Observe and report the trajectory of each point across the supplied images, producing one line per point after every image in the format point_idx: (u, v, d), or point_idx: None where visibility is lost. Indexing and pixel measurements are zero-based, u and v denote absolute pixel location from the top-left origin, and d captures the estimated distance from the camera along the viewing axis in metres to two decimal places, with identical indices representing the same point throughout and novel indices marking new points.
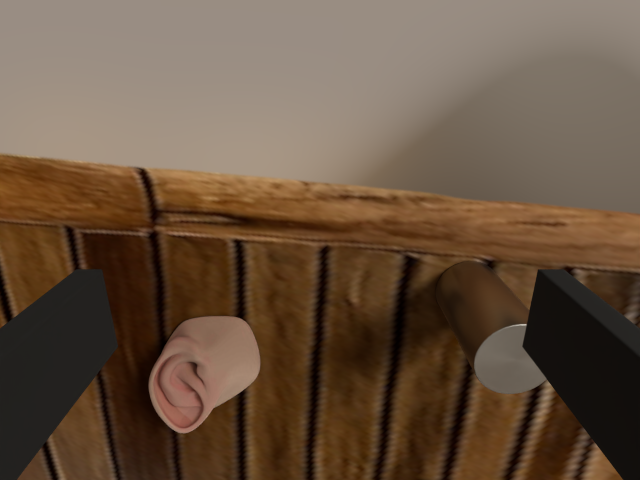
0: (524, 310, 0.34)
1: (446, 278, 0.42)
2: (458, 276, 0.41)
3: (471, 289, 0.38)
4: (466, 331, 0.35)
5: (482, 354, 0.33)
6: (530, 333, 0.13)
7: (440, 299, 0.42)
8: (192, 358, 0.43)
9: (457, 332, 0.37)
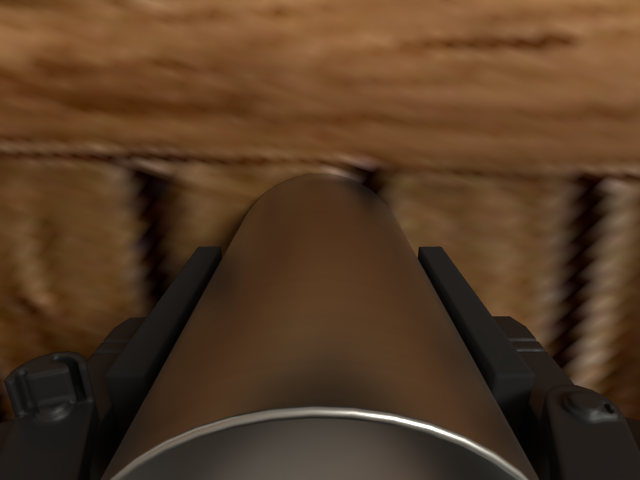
0: (388, 303, 0.07)
1: (241, 224, 0.15)
2: (255, 211, 0.14)
3: (246, 240, 0.11)
4: None
5: None
6: None
7: None
8: None
9: None
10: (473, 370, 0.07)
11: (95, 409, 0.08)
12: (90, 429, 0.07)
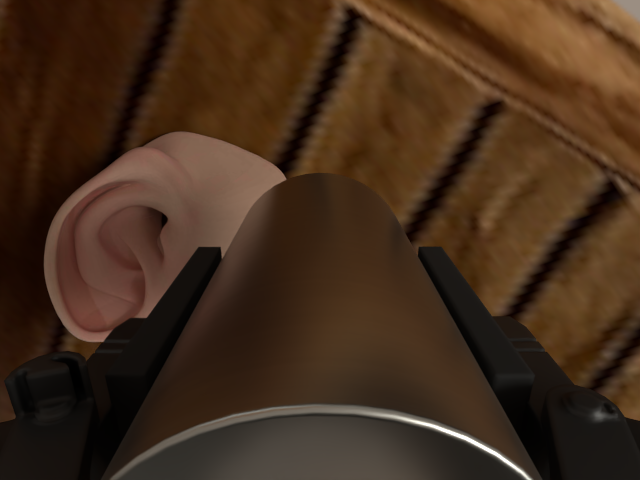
0: (389, 302, 0.07)
1: None
2: (256, 210, 0.14)
3: (247, 239, 0.11)
4: None
5: None
6: None
7: None
8: (166, 202, 0.21)
9: None
10: (475, 368, 0.07)
11: (95, 409, 0.08)
12: (90, 429, 0.07)
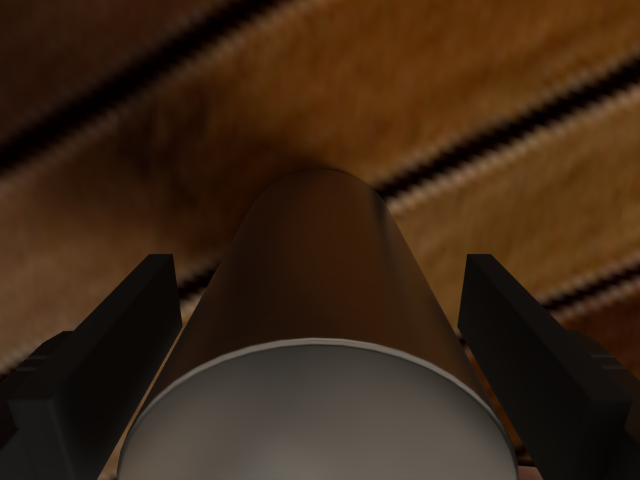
0: (375, 271, 0.08)
1: (247, 214, 0.16)
2: (260, 202, 0.15)
3: (253, 226, 0.12)
4: None
5: None
6: (462, 313, 0.14)
7: None
8: None
9: None
10: (445, 326, 0.08)
11: None
12: None
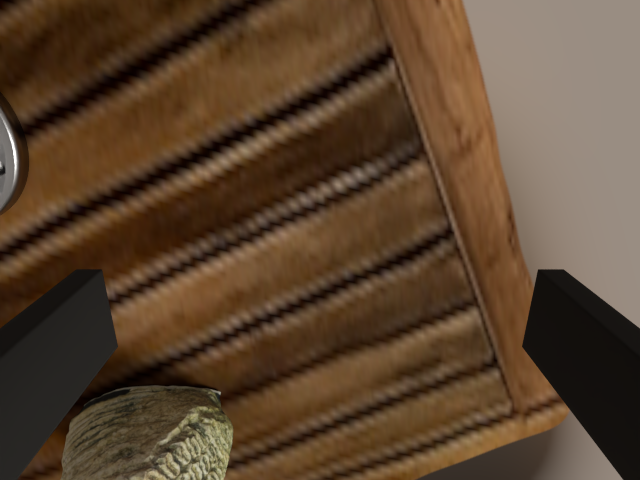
0: None
1: None
2: None
3: None
4: None
5: None
6: (529, 333, 0.13)
7: None
8: None
9: None
10: None
11: None
12: None
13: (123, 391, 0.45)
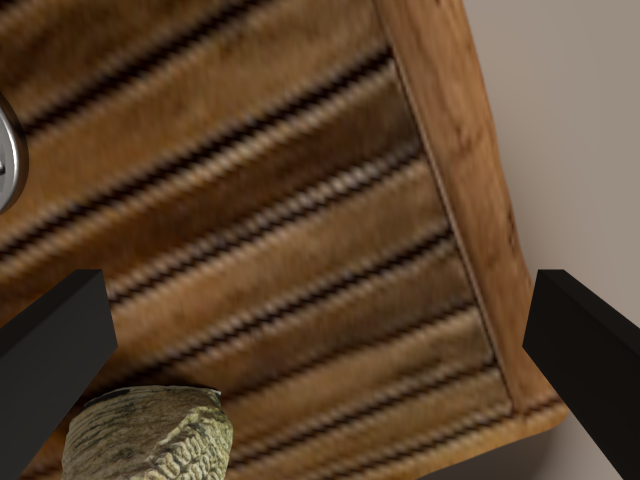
0: None
1: None
2: None
3: None
4: None
5: None
6: (529, 333, 0.13)
7: None
8: None
9: None
10: None
11: None
12: None
13: (123, 391, 0.45)
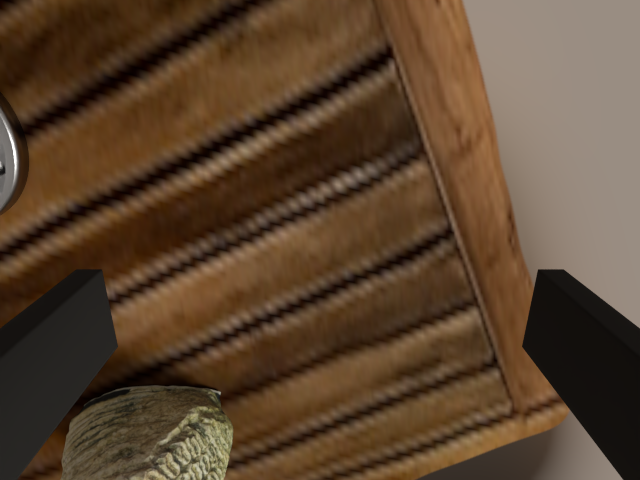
0: None
1: None
2: None
3: None
4: None
5: None
6: (529, 333, 0.13)
7: None
8: None
9: None
10: None
11: None
12: None
13: (123, 391, 0.45)
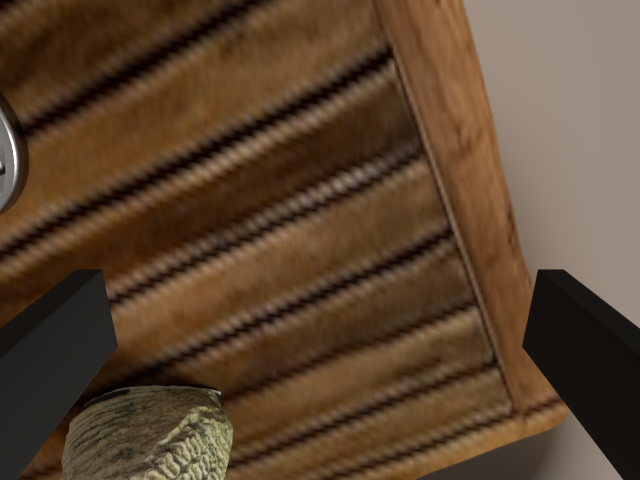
0: None
1: None
2: None
3: None
4: None
5: None
6: (529, 333, 0.13)
7: None
8: None
9: None
10: None
11: None
12: None
13: (123, 391, 0.45)
